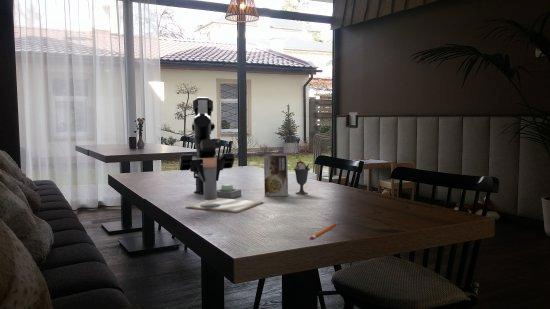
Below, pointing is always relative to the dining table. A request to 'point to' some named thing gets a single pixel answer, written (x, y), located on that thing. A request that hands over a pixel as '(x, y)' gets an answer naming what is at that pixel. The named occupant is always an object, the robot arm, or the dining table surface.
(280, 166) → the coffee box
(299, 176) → the sundae
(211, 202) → the board
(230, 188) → the button
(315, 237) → the pencil
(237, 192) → the button collar
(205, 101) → the robot arm
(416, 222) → the dining table surface
